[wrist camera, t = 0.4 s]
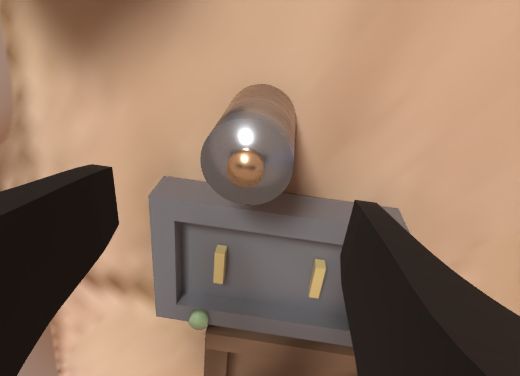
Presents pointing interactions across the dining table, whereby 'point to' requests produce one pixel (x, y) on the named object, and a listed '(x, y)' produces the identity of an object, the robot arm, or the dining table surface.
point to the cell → (252, 147)
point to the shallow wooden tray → (272, 355)
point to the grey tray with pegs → (250, 261)
